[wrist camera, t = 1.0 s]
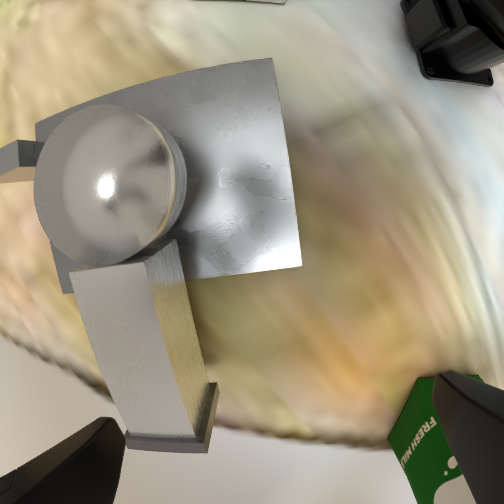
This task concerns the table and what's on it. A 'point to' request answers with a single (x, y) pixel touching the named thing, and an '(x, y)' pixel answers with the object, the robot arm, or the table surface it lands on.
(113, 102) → the base
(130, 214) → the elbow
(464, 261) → the table surface
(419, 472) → the milk carton
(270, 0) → the skincare box
